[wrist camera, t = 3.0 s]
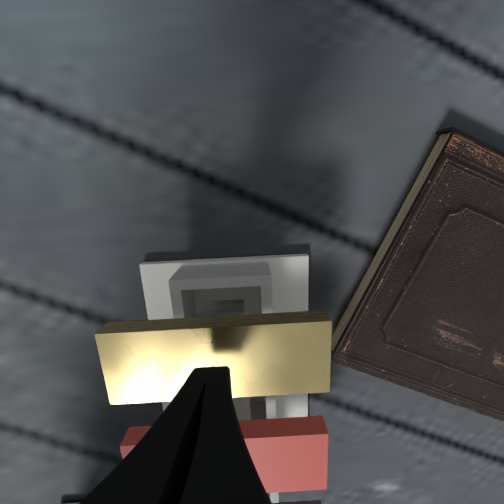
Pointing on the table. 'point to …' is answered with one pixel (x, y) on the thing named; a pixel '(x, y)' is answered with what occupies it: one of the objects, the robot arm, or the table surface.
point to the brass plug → (217, 352)
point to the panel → (232, 288)
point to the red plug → (274, 449)
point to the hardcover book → (438, 284)
